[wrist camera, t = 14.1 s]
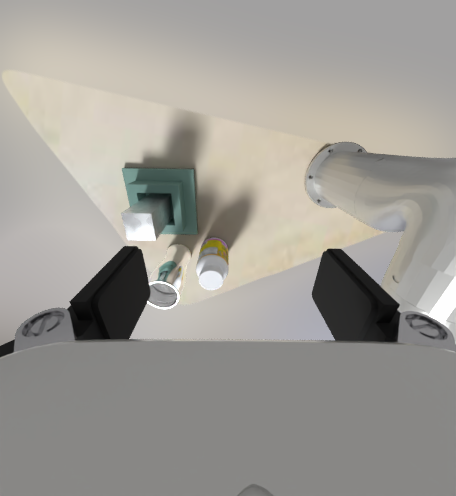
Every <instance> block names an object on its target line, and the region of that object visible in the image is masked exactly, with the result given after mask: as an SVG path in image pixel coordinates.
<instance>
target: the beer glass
mask: <svg viewBox="0 0 456 496" xmlns="http://www.w3.org/2000/svg"><path fill="white" fill-rule="evenodd" d="M190 259H191V253H190V250H189V249H188V248H187V247H186V246H184V245H181V244H174V245H171V246H170V247H169V248H168V249H167V251H166V256H165V258H164V259H163V260H162V261H161V262H160V263H159V264H158V265H157V266H156V268H155V269H154V270H153V272H152V273H151V275H150V277H149V279H148V281H149V286H150V291H151V293H150V297H149V300H148V303H149V304H150V305H152V306H154V307H156V308H161V309H167V308H171V307H173V306H175V305H176V304H177V303H178V301H179V298H180V296H181V294H182V291H183V289H184V286H185V282H186V266H187V264H188V263H189V261H190Z"/></svg>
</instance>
